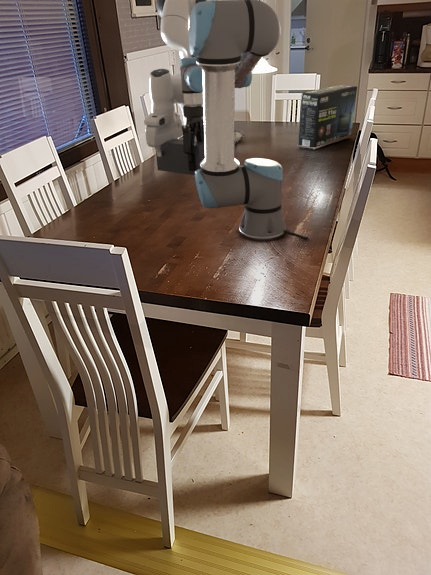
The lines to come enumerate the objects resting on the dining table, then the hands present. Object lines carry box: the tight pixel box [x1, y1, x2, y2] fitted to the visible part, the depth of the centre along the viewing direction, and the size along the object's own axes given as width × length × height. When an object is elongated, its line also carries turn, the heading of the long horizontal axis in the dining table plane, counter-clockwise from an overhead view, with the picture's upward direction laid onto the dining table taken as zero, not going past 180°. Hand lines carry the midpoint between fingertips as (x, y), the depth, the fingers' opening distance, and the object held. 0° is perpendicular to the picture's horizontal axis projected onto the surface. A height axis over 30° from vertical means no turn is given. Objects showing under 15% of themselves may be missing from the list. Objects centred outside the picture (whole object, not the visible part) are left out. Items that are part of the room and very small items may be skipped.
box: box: [155, 138, 205, 176], centre depth 179 cm, size 20×6×11 cm, turn 60°
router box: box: [297, 84, 358, 151], centre depth 238 cm, size 36×11×27 cm, turn 134°
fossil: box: [234, 128, 246, 145], centre depth 254 cm, size 18×11×15 cm
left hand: (167, 153), depth 182 cm, fingers open, 8 cm apart
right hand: (197, 168), depth 178 cm, fingers closed on box, 6 cm apart
